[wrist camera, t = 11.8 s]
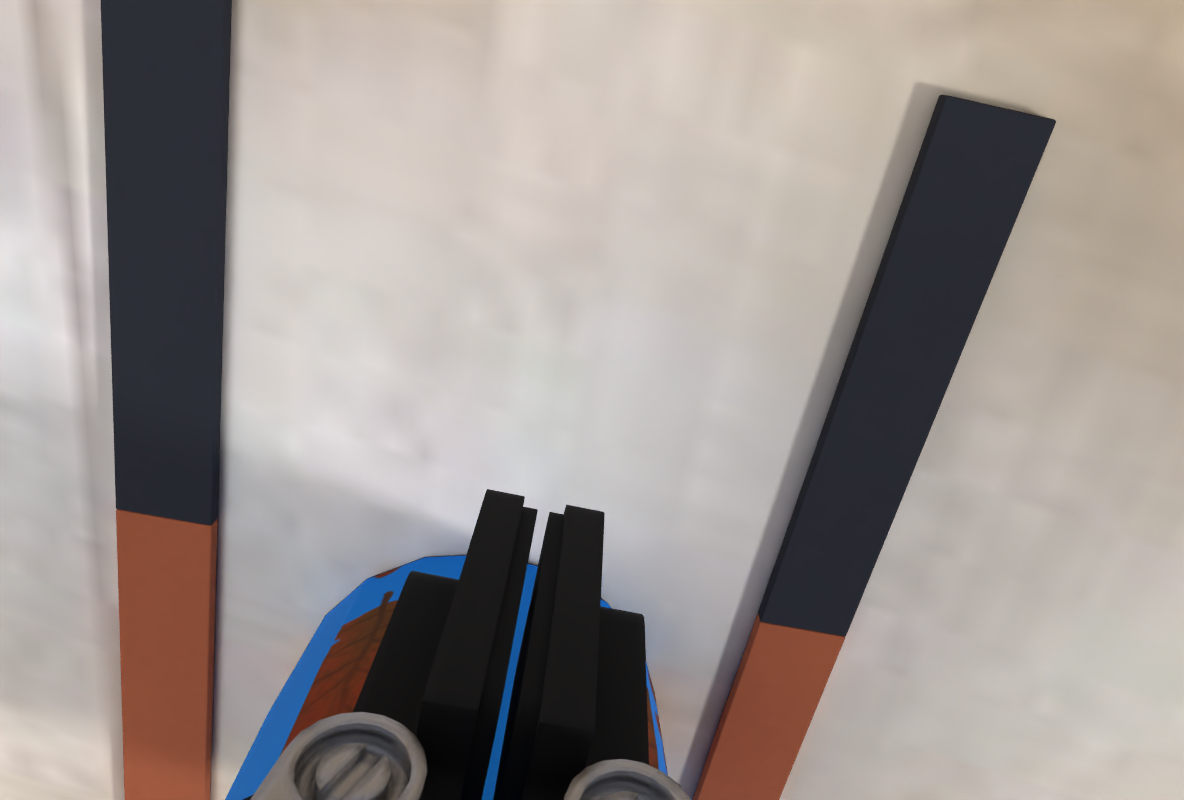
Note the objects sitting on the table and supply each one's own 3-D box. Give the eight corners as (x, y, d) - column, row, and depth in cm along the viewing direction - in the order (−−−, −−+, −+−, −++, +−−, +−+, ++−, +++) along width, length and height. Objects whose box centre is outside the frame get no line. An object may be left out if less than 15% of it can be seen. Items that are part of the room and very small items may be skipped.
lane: (108, -95, 16) (96, -97, 16) (1048, 118, 18) (1057, 120, 17) (131, 817, 26) (125, 828, 26) (729, 906, 28) (731, 917, 28)
